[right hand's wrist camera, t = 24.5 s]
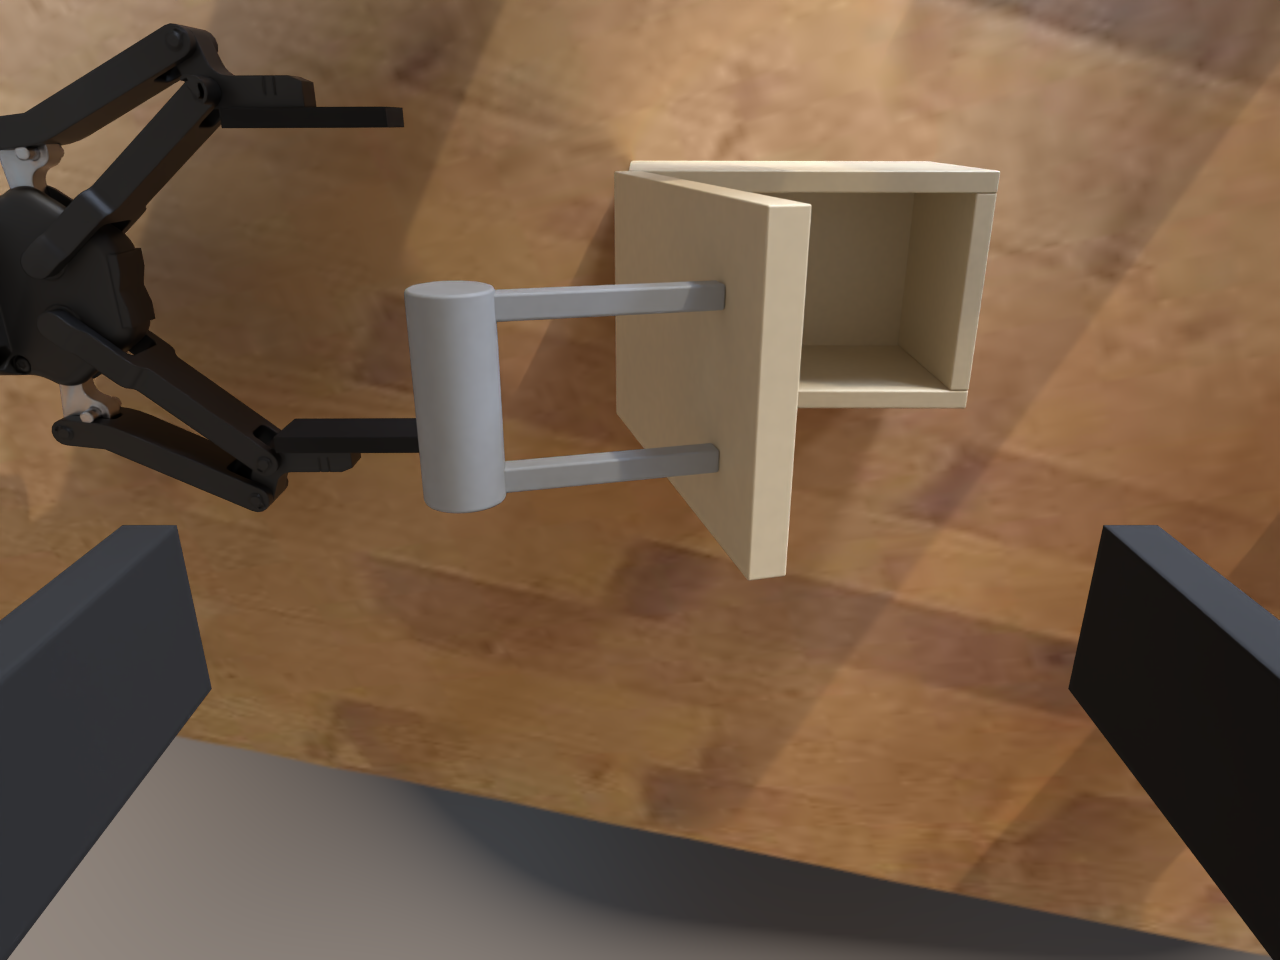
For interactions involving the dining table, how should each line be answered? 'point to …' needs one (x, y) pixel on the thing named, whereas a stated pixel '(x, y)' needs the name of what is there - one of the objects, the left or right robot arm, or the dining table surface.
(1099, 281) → the dining table surface
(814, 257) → the chest
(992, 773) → the dining table surface
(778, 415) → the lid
